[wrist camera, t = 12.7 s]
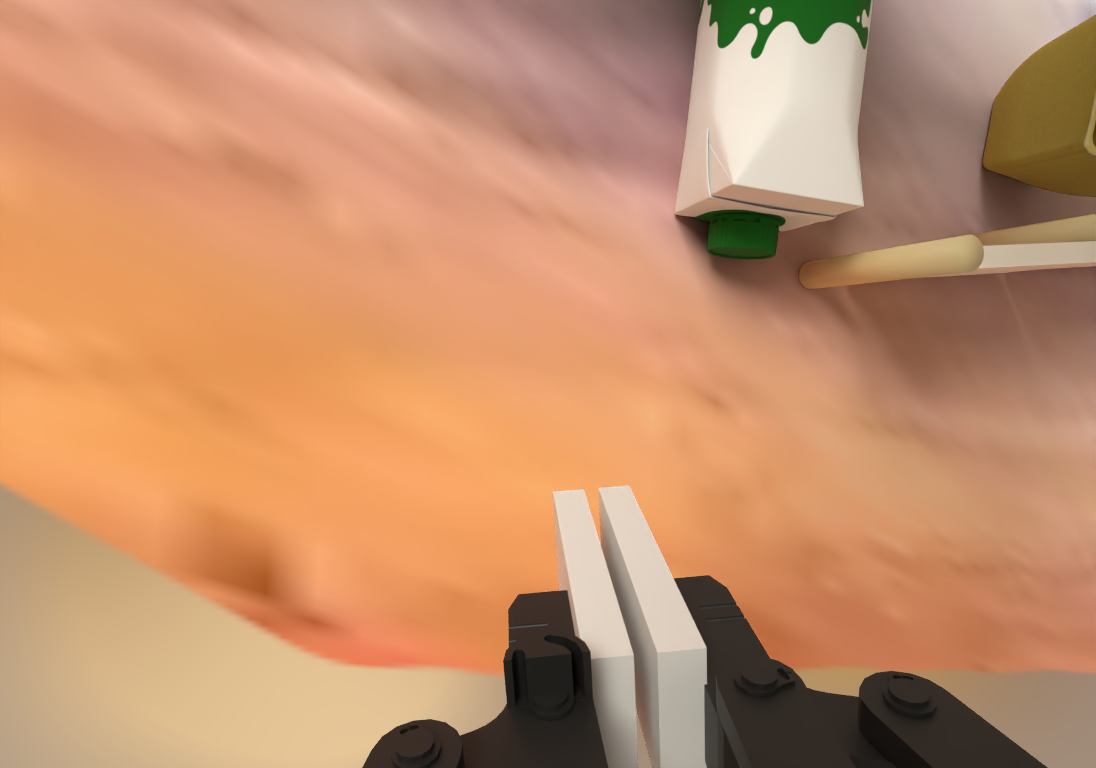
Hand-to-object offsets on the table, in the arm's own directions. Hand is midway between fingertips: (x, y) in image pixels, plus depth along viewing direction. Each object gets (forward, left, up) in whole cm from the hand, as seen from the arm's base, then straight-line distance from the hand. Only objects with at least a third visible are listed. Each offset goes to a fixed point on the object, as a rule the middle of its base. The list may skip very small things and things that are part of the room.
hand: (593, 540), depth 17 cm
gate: (+3, +33, -22) cm, 40 cm away
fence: (+4, +38, -23) cm, 44 cm away
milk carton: (-21, +29, -19) cm, 40 cm away
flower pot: (-3, +44, -23) cm, 50 cm away
